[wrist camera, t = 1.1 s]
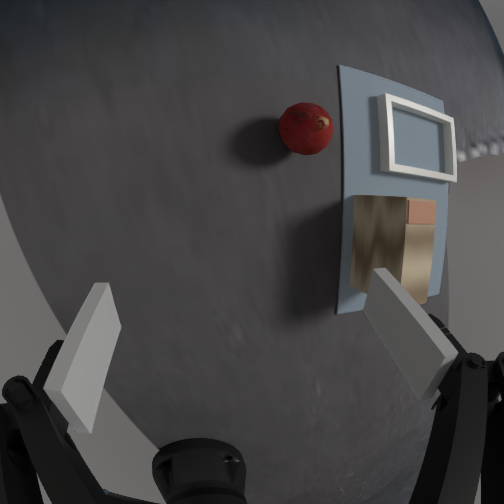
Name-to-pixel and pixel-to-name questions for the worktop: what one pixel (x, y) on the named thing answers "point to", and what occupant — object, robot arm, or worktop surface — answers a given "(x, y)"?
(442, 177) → the frame
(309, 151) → the onion
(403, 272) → the block
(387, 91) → the mat
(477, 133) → the worktop surface
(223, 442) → the robot arm
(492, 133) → the worktop surface
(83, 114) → the worktop surface
